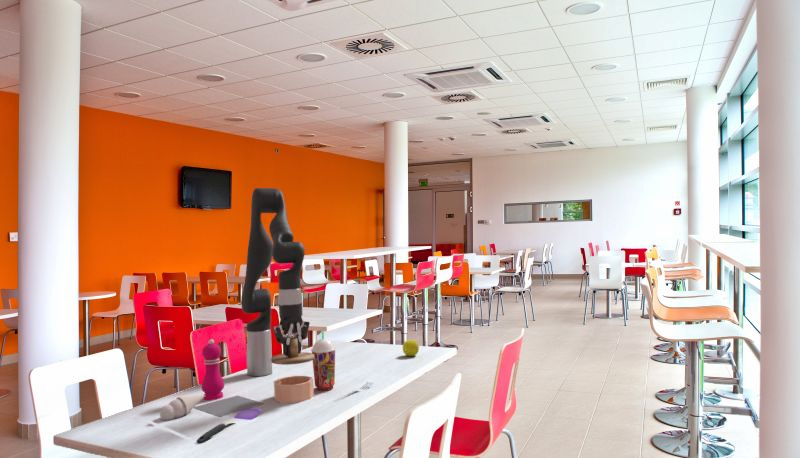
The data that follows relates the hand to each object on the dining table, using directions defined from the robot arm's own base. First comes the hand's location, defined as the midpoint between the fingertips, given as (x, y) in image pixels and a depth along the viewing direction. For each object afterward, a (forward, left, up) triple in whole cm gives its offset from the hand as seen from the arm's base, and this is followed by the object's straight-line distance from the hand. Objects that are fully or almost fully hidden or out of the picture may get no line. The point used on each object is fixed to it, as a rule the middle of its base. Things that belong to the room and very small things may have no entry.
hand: (292, 354), depth 188 cm
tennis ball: (-10, +70, -15) cm, 72 cm away
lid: (0, 0, -2) cm, 2 cm away
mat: (-10, -18, -15) cm, 25 cm away
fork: (+12, +14, -15) cm, 24 cm away
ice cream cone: (-14, -31, -15) cm, 37 cm away
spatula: (+8, -29, -15) cm, 34 cm away
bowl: (0, 0, -15) cm, 15 cm away
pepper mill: (-23, -16, -15) cm, 32 cm away
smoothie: (-1, +14, -15) cm, 20 cm away
